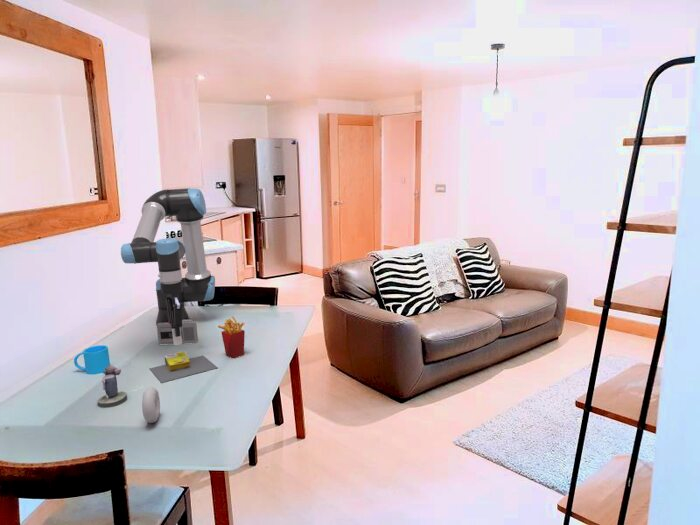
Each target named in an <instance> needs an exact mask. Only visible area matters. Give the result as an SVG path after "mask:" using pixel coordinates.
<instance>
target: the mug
mask: <svg viewBox="0 0 700 525" xmlns="http://www.w3.org/2000/svg"><path fill="white" fill-rule="evenodd" d="M80 356H83V362H84V367H82V366H81V365H79V363H78V359H79V357H80ZM73 365H74V366H75V368H78V370H83V371H85V373H86V374H87V375H99V374H104V373H103V371H105V368H106V367H107V366H111V362H110V353H109V347H108V345H106V344H105V345H104V344H103V345H102V344H101V345H100V344H99V345H94V346H90V347H87V348H84V349H83V351H82V352H80V353H77V355H75V356H74V359H73Z"/></svg>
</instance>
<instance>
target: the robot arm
mask: <svg viewBox="0 0 700 525" xmlns="http://www.w3.org/2000/svg"><path fill="white" fill-rule="evenodd" d="M206 206H207V205H206V201H205V197H204V194H203V192H202V190H201V189H199V188H190V187H189V188H176V189H162V190H159V191H157V192H155V193H152V195H151V196H149V197H148V198H147V199H146V200H145V201H144V203H143V205H142V207H141V216H140V219H139V222H138V225H137V227H136V230H135V233H134V234H133V237H132V240H131V242H127V243H124V244H122V246H121V248H120V256H121V259H122V262H123V263H124V264H135V265H136V264H146V263H157V265H158V273H159V274H157V277H158V279H157V280H156V282H155V291H156V292H155V293H156V300H157V307H158V308H157V309H158V311H157V315H156V321H155V323H156V324H155V325H156V326H157V324H158V323H170V324H171V326H172V327H171V329H172V334H173V343H174V345H173V346H178V345H183V344H182V336H181V327H182V320H191V319H190V318H191V317H190V316H189V314H188V311H187V309H186V307H185V303H192V302H193V303H194V302H206V301H211V300H213V299H214V297H215V289H216V288H215V287H216V278H215V275H213V274H211V271H210V270H209V269H207V262H206V254H205V246H204V240H203V239H204V237H203V231H202V223H201V221H203V219H204V215H206V214H207V207H206ZM165 217H175V218H176V219H175V220H176V222H178V223H179V224H180V227H181V228H180V229H181V235H182V241H181V240H179V239H177V238H174V237H173V238H171V237H170V238H162V239H157V240H156V241H155V238H156V236H157V234H158V233H157V232H158V231H159V227H160V224H161V221H162V220H164V219H165ZM183 257H185V262H186V270H187V272H186V273H185V275H184V277H183V275H182V266H181V259H183ZM168 321H169V322H168Z"/></svg>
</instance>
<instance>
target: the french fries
mask: <svg viewBox="0 0 700 525" xmlns="http://www.w3.org/2000/svg"><path fill="white" fill-rule="evenodd" d="M231 318H232V319H231ZM231 318H227V319H226V320H225V322H224V323H223V324H224V325H221V324H218V327H217V328H219V329H222V330H223V331H221V332H220V333H221V337H222V342H223V347H224V352H225V356H226V357H228V358H230V357H231V359H233V358H234V359H237V358H240V357H243V356H244V355H245V333H246V331H245V330H244V329H242V327H243V326H244V325H245V322H241V323H240V322H237V319H236V318H235V317H234V316H231ZM239 356H240V357H239ZM236 357H237V358H236Z"/></svg>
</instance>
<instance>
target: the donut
mask: <svg viewBox="0 0 700 525" xmlns="http://www.w3.org/2000/svg"><path fill="white" fill-rule="evenodd" d="M141 407H142V409H141V410H142V415H143V419H144V420H145V422H147V423H149V424H154V423H155V422H157V421H158V420H159V416H160V412H161V400H160V394H159V391H158V389H156V387H151V386H150V387H148V388H146V389H145V390H144V391H143V395H142V401H141Z"/></svg>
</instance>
